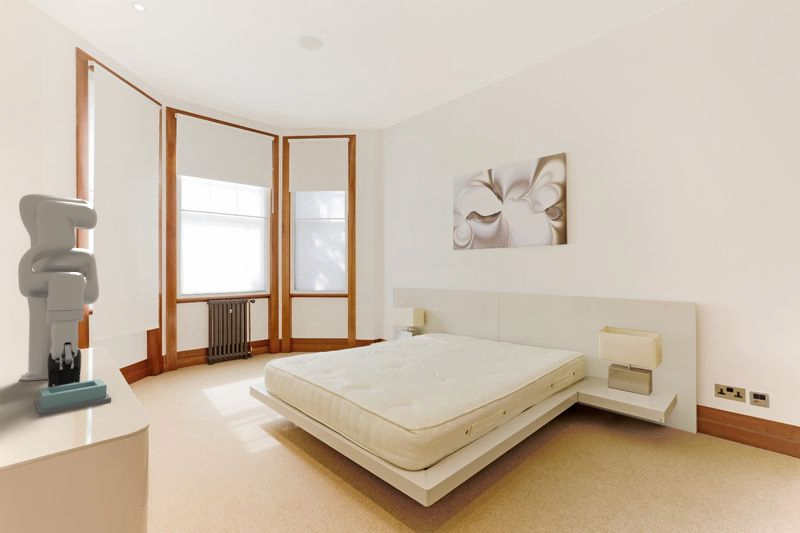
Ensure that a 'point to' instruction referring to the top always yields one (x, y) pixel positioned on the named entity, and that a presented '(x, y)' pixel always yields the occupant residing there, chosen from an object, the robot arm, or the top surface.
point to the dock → (71, 397)
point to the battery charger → (54, 367)
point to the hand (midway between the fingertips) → (64, 381)
